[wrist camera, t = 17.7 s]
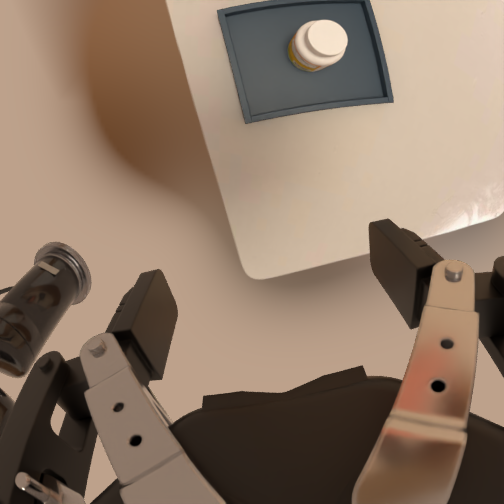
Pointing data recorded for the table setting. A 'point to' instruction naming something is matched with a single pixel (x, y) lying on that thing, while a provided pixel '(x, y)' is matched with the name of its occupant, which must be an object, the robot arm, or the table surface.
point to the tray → (288, 75)
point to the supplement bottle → (317, 45)
